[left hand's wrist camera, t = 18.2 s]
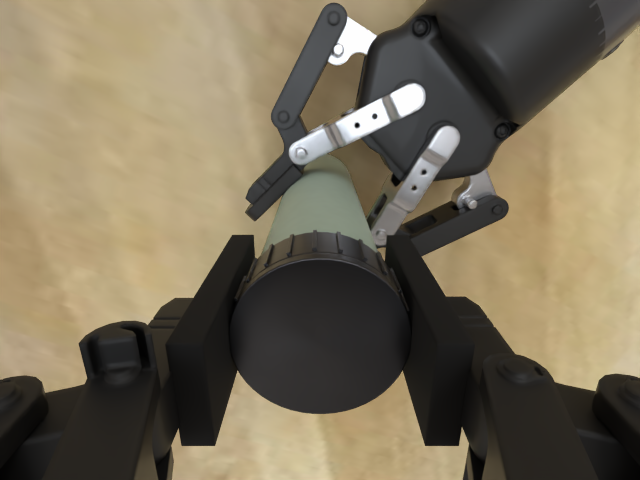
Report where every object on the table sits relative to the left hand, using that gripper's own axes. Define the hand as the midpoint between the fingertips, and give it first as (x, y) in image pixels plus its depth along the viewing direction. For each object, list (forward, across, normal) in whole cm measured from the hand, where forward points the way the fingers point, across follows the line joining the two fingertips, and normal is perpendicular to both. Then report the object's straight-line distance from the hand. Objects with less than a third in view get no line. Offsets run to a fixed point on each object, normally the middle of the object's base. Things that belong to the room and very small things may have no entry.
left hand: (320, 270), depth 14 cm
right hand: (+8, -2, -2) cm, 8 cm away
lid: (-4, 0, 0) cm, 4 cm away
